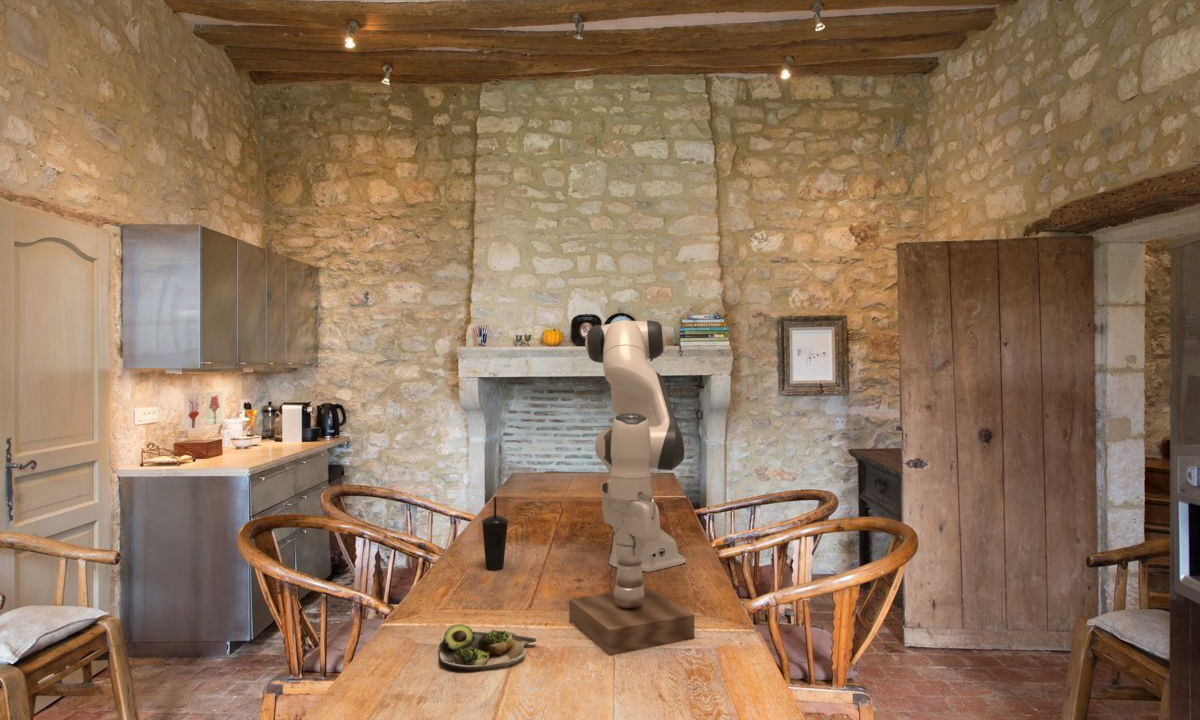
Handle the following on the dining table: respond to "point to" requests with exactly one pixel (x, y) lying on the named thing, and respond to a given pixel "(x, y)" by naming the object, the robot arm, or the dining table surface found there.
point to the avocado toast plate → (479, 648)
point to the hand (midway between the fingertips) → (630, 552)
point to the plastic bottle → (628, 572)
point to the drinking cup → (494, 540)
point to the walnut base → (631, 622)
